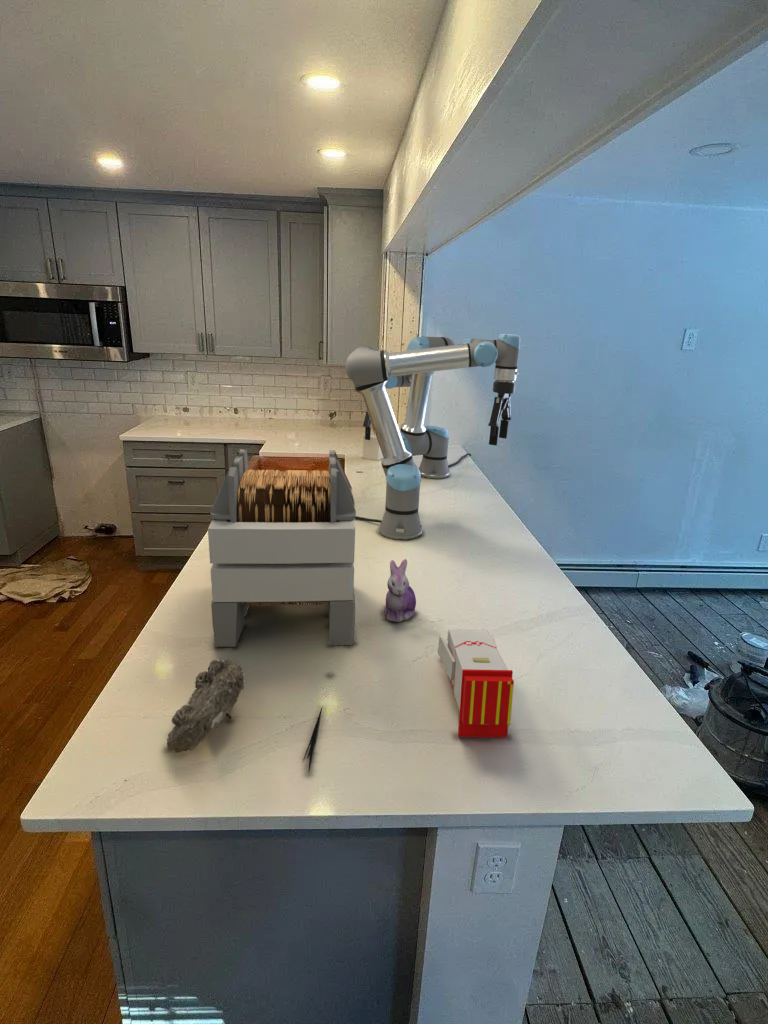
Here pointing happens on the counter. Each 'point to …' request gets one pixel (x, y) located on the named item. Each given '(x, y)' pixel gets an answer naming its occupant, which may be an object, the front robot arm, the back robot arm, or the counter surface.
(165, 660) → the counter surface
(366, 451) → the block
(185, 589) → the counter surface
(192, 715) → the fossil
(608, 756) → the counter surface
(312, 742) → the feather
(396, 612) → the figurine
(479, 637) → the toy
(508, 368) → the front robot arm
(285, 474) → the transformer
